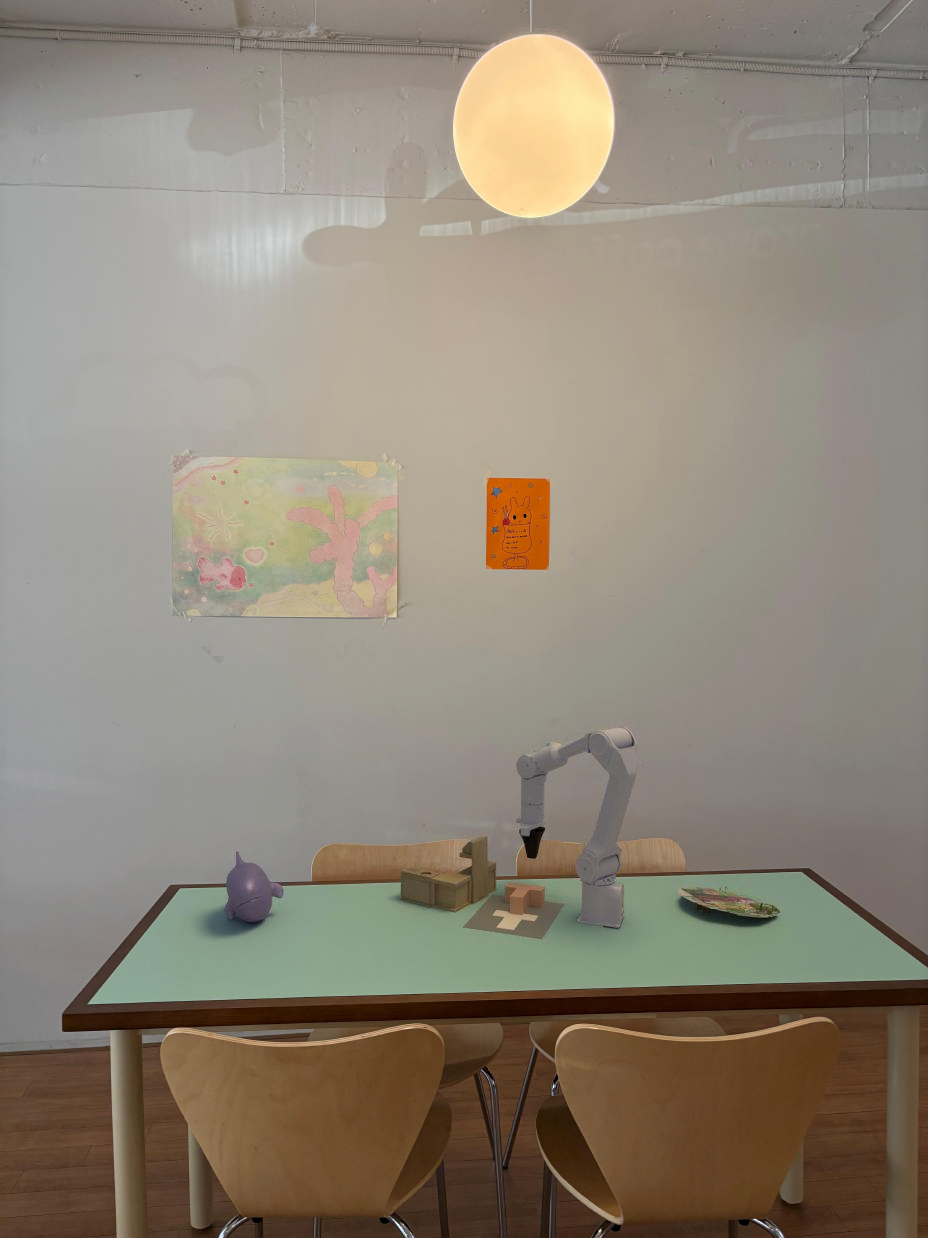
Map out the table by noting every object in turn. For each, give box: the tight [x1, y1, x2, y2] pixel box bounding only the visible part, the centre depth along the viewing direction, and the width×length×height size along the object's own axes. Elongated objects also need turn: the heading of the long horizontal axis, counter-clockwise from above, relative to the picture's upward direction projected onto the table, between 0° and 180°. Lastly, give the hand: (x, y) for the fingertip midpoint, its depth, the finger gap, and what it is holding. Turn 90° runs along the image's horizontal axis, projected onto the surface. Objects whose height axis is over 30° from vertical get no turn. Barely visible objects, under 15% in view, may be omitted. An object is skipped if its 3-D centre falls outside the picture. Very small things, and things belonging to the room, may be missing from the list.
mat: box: [462, 894, 565, 940], centre depth 190 cm, size 18×22×1 cm
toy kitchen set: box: [400, 835, 497, 913], centre depth 203 cm, size 18×17×15 cm
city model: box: [677, 885, 781, 918], centre depth 197 cm, size 25×23×6 cm
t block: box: [504, 882, 546, 915], centre depth 195 cm, size 9×9×4 cm
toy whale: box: [224, 851, 285, 923], centre depth 190 cm, size 14×25×16 cm, turn 11°
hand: (532, 857), depth 204 cm, fingers closed
